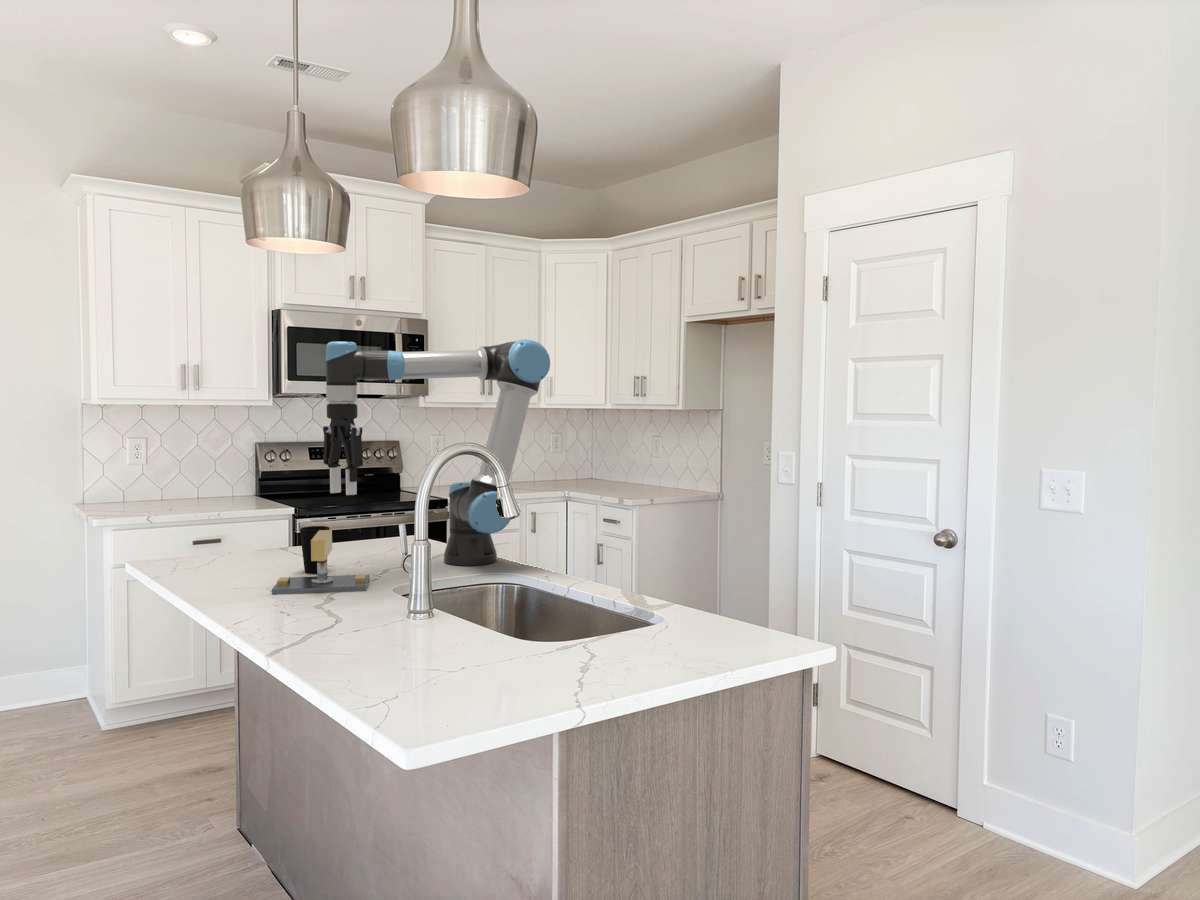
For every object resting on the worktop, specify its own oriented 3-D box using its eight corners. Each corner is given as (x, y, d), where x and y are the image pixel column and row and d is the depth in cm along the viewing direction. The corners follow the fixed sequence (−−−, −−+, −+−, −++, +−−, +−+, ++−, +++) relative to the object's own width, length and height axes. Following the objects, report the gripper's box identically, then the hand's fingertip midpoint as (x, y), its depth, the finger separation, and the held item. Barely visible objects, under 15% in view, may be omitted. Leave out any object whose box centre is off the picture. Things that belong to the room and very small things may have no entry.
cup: (324, 575, 235) (324, 530, 234) (296, 574, 235) (295, 530, 234) (334, 569, 243) (333, 526, 242) (306, 569, 243) (305, 525, 242)
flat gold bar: (332, 555, 229) (331, 529, 228) (325, 567, 213) (324, 540, 213) (319, 555, 228) (319, 530, 228) (311, 567, 212) (310, 540, 212)
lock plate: (369, 578, 230) (369, 556, 230) (365, 590, 216) (365, 566, 216) (281, 582, 226) (280, 559, 225) (271, 594, 212) (271, 569, 212)
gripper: (377, 403, 220) (378, 495, 221) (332, 402, 232) (334, 489, 233) (352, 403, 214) (353, 497, 216) (307, 402, 226) (309, 492, 228)
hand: (343, 493), depth 225 cm, fingers open, 6 cm apart
